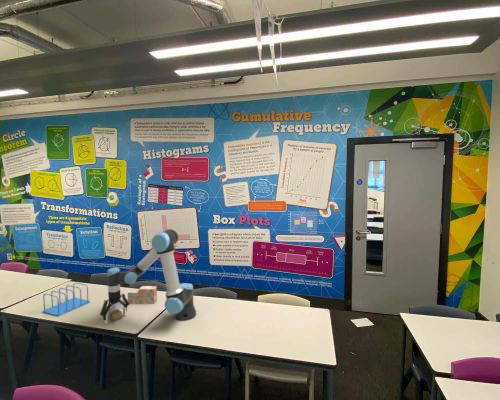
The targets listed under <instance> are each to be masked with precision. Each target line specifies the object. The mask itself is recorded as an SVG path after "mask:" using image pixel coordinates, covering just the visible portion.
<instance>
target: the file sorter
mask: <svg viewBox="0 0 500 400" xmlns="http://www.w3.org/2000/svg"><path fill="white" fill-rule="evenodd" d="M75 284H78V285H83V286H85V287H86V296H87V297H86V299H83V298H82V289H81V287H79V286H75ZM68 287H71V288H72V289H68ZM75 288H77V289H78V290H79V294H80V295H79V297H76V295H75V293H76V292H75ZM61 290H65V292H66V293H65V292H61ZM68 291H70V292H71V293H72V298H70V299H69V298H68ZM53 292H54V293H58V296H59V297H58V296H56V295H54V294H53ZM62 294H63V295H64V298H65V301H63V302H61V295H62ZM45 296H50V297H51V307H48V308H47V309H46V306H45V305H46V302H45ZM53 297H54V298H56V300H57V304H56V305H54V300H53ZM42 299H43V310H42V314H47V315H49V316H54V317H62V316H63V315H65V314H68V313H69V312H71V311H74V310H76V309H78V308H81V307H83V306H86V305H88V304H90V300H89V287H88V285H87V284H85V283H81V282H74V283H73V285H70V284H69V285H66V287H60V288H59V289H58V291H57V290H52V291H51V293H50V294H49V293H44V294H43V297H42Z"/></svg>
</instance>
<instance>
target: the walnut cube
mask: <svg viewBox="0 0 500 400" xmlns="http://www.w3.org/2000/svg"><path fill="white" fill-rule="evenodd" d="M122 319H123V312H122V311H120V310H118V309H117V310H114V311H113V310H111V311H108V321H111V322H112V323H116V322H118V321H121V320H122Z"/></svg>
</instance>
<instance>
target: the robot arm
mask: <svg viewBox="0 0 500 400" xmlns="http://www.w3.org/2000/svg"><path fill="white" fill-rule="evenodd" d="M178 241H179V234H178V232H177V231H175V230H174V229H170V228H169V229H166V230H163V231H161V232H158V233H156V234H155V235H154V236H153V237H152V239H151V247H152V249H151V250H150V251H149V252H148V253H146V255H145V256H144V257H143V258H142V259H141V260H140V261H139V262H138V263H137V264H136V265H135V266H134V267H132V268H131V269H128V270H127V271H120V268H119V267H112V268H109V269H108V270H107V276H106V277H107V297H108V299H104V300H103V304H102V307H101V310H100V313H99V316H101V317H102V320H103V321H104V322H103V323H104V324H105V325H108V324H109V323H108V322H109V319H108V314H109V312H110V310H109V309H111V306H112V305H113V304H115V303H118V302H119V303H121V304H122V305H123V306H124V307H123V312H122V317H126V316H127V312H126V311H127V307H129V306H130V304H129V302H128V298H126V295H125V293H121V284H127V285H130V284H131V285H132V284H135V282H136V281H137V280H138V278H139V277H140V276H142V275H143V274H145V273H146V270H148V268H150V267H151V266H152V264H154V262H156V260H158V259H159V258H160V263H161V267H162V272H163V273H162V274H163V276H164V281H165V286H166V291H165V298H166V299H165V302H164V309H165V310H166V312H168V313H169V314H172V315H174V319H176V320H177V321H189V320H192V319H194V318H195V317H196V316H197V310H196V308H195V304H194V285H193V284H192V283H188V282H187V283H184V282H183V283H180V280H179V274H178V269H177V265H176V260H175V256H174V252H175V250H176V249H175V248H176V247H175V245H176V244H177V243H178ZM120 298H123V302H122V301H121V300H120Z"/></svg>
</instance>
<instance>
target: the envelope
mask: <svg viewBox="0 0 500 400" xmlns="http://www.w3.org/2000/svg"><path fill="white" fill-rule="evenodd" d="M123 307H124V306H123ZM109 311H112V310H111V308H110V309H109ZM120 311H122V313H123V309H122V310H120ZM131 311H135V309H134V308H132V307H130V306H128V307H127V311H126V313H128V312H131Z"/></svg>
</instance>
